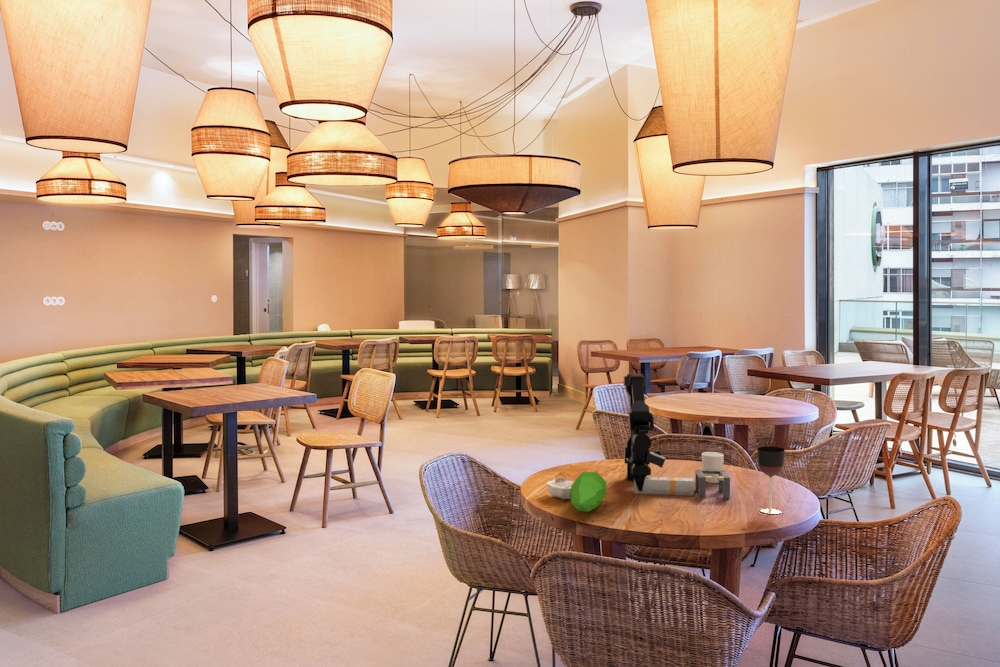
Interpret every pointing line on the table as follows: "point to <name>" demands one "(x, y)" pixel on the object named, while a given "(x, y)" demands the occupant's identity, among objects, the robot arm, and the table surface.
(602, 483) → the decorative tree
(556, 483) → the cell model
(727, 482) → the grey c-shaped bracket
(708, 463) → the white cup
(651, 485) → the grey rectangular bar
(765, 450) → the wineglass
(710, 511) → the table surface
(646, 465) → the robot arm
